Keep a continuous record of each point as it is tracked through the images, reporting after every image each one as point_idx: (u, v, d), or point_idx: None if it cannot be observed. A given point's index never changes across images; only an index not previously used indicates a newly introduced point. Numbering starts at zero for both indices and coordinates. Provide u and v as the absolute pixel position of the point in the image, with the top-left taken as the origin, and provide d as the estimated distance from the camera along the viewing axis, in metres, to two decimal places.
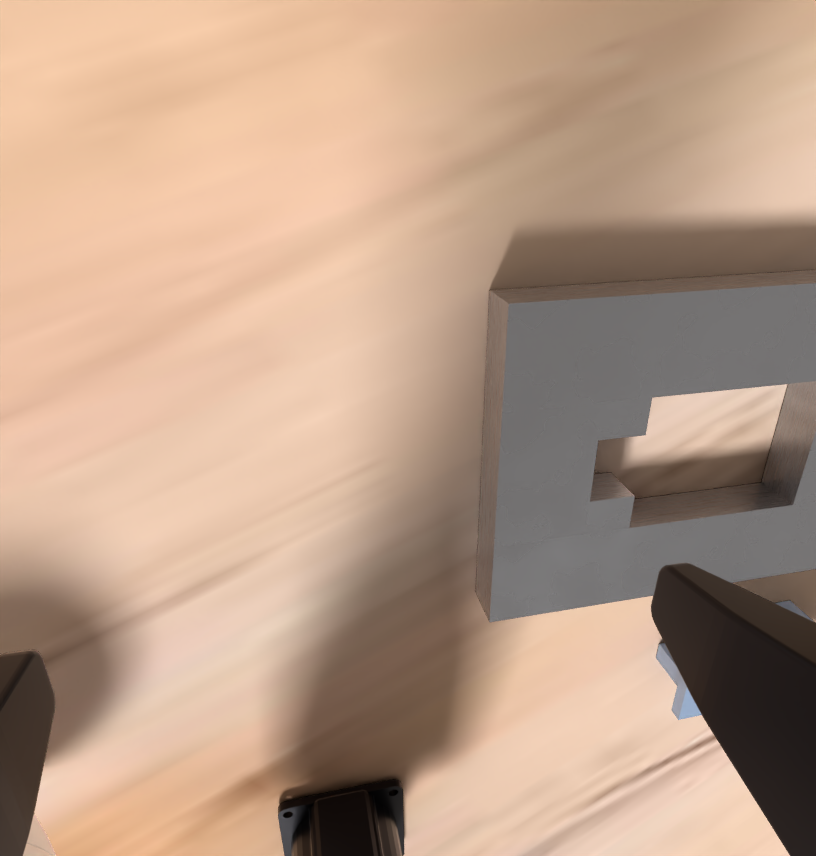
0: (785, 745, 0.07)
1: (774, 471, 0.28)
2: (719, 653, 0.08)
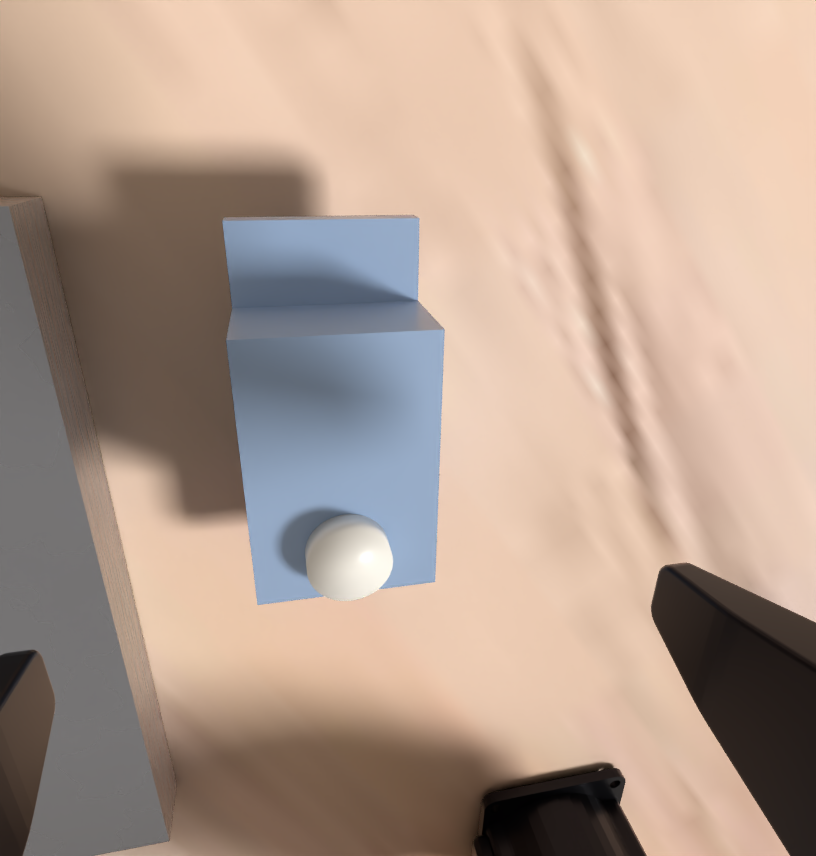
0: (785, 745, 0.07)
1: None
2: (719, 653, 0.08)
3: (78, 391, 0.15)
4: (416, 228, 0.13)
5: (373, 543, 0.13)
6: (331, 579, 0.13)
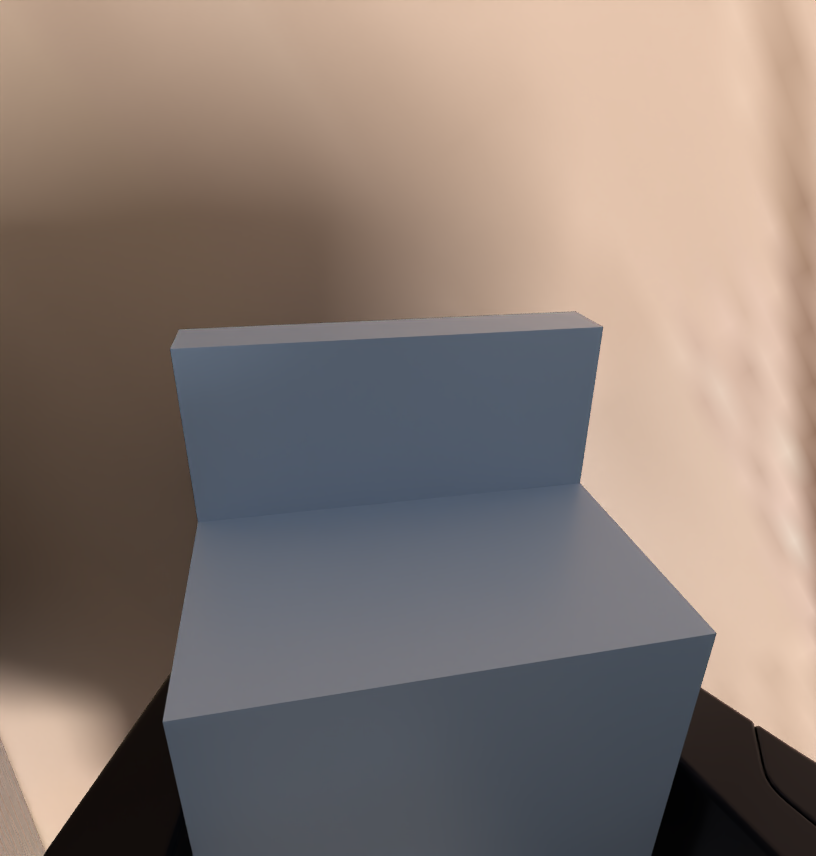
0: None
1: None
2: None
3: None
4: (594, 347, 0.06)
5: None
6: None
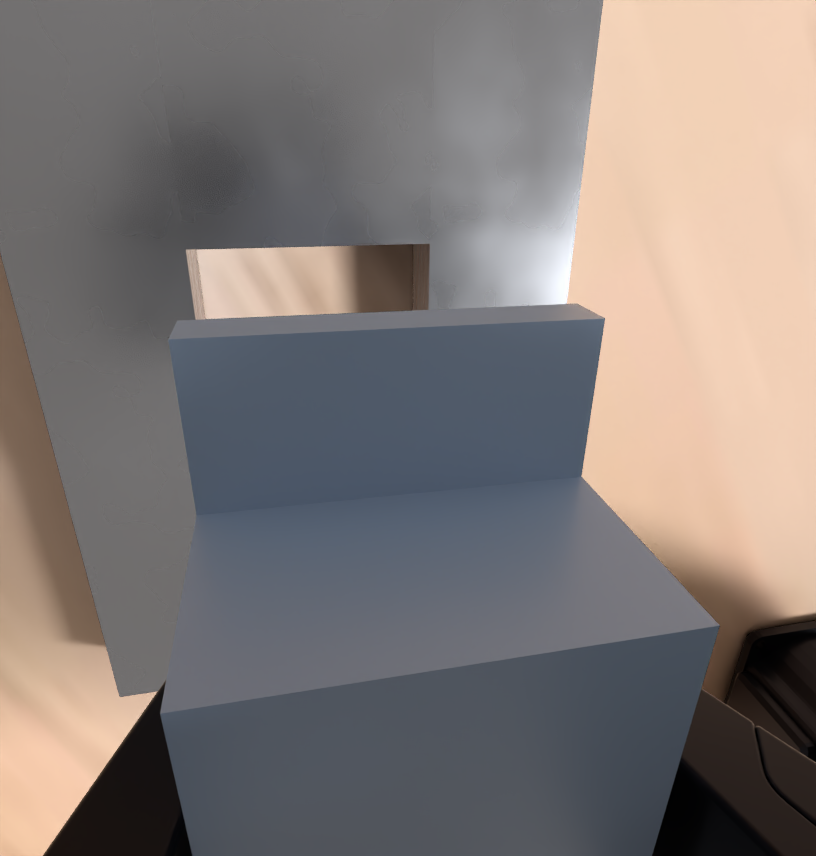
0: None
1: None
2: None
3: None
4: (596, 339, 0.06)
5: None
6: None
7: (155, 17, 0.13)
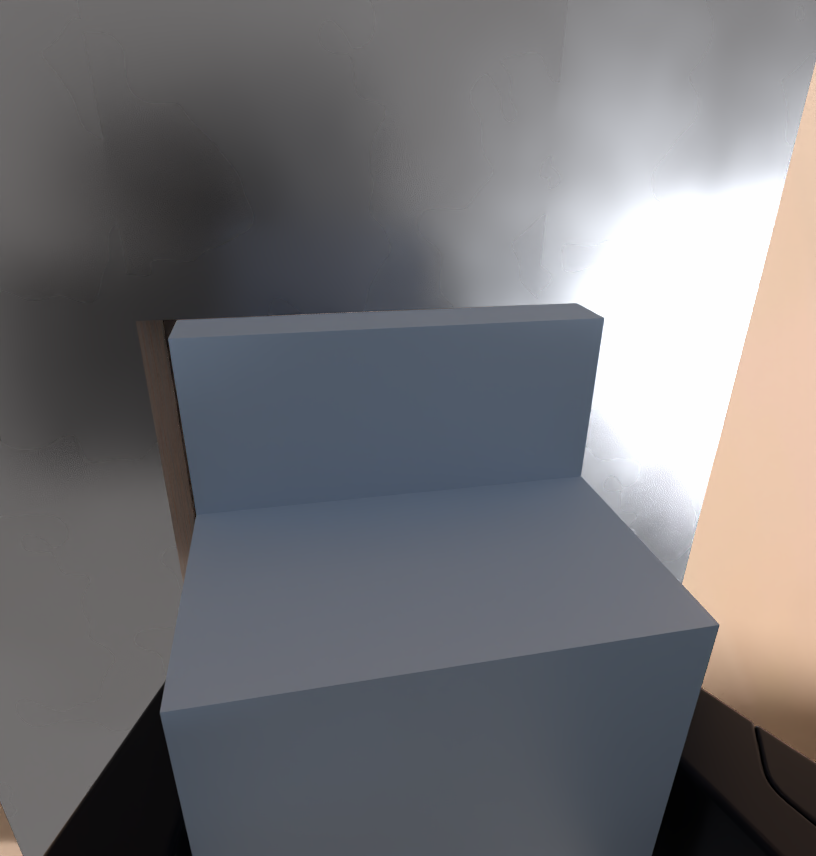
0: None
1: None
2: None
3: None
4: (596, 338, 0.06)
5: None
6: None
7: None
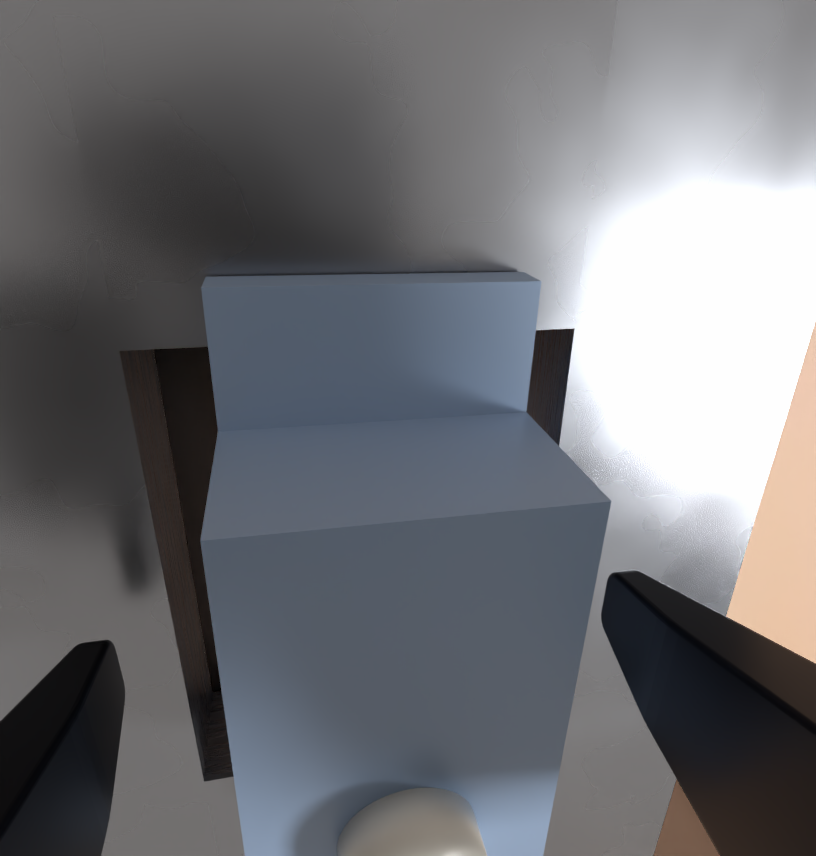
0: (722, 757, 0.07)
1: None
2: (661, 662, 0.08)
3: None
4: (535, 298, 0.08)
5: (459, 851, 0.07)
6: None
7: None
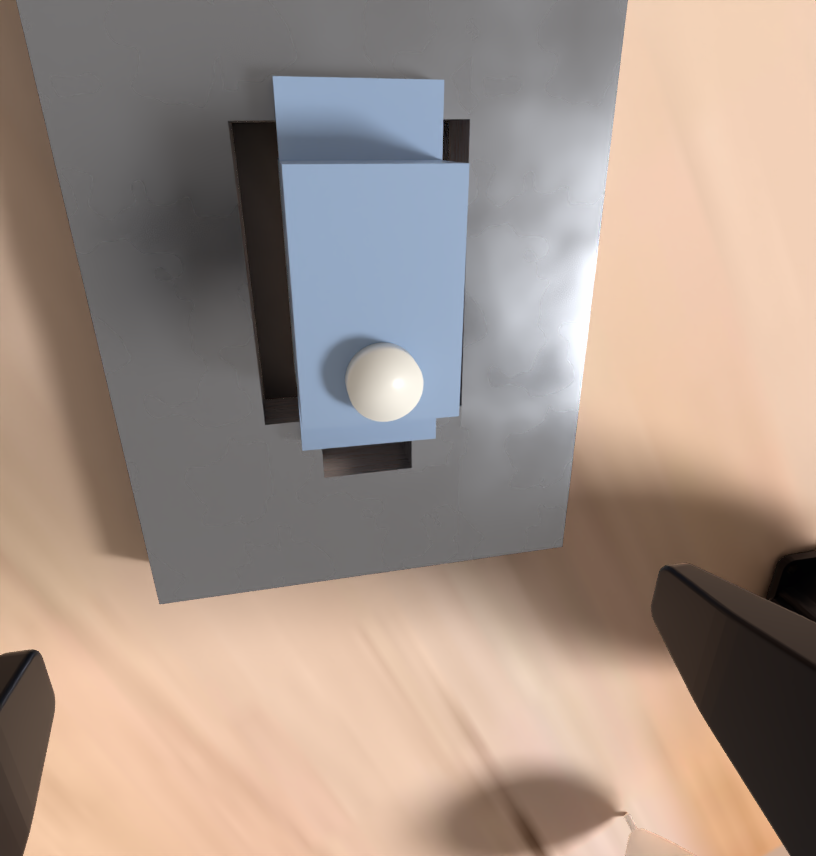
0: (785, 744, 0.07)
1: None
2: (719, 653, 0.08)
3: None
4: (441, 89, 0.15)
5: (406, 364, 0.14)
6: (369, 398, 0.14)
7: None
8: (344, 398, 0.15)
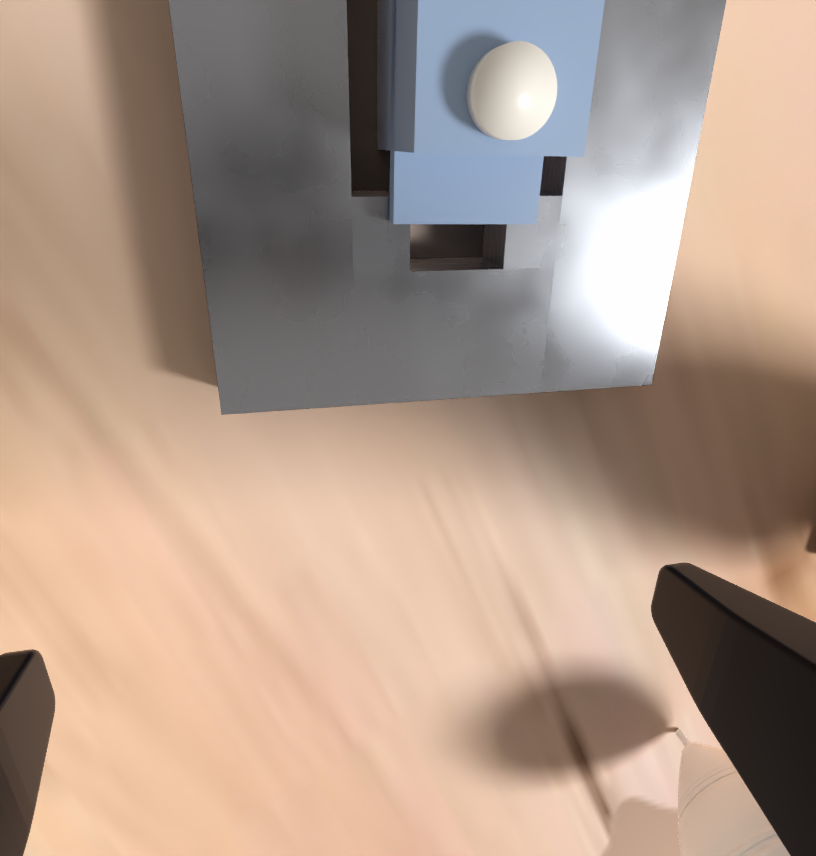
0: (785, 744, 0.07)
1: None
2: (719, 653, 0.08)
3: None
4: None
5: (541, 64, 0.13)
6: (496, 106, 0.13)
7: None
8: (463, 116, 0.13)
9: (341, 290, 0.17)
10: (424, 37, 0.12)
